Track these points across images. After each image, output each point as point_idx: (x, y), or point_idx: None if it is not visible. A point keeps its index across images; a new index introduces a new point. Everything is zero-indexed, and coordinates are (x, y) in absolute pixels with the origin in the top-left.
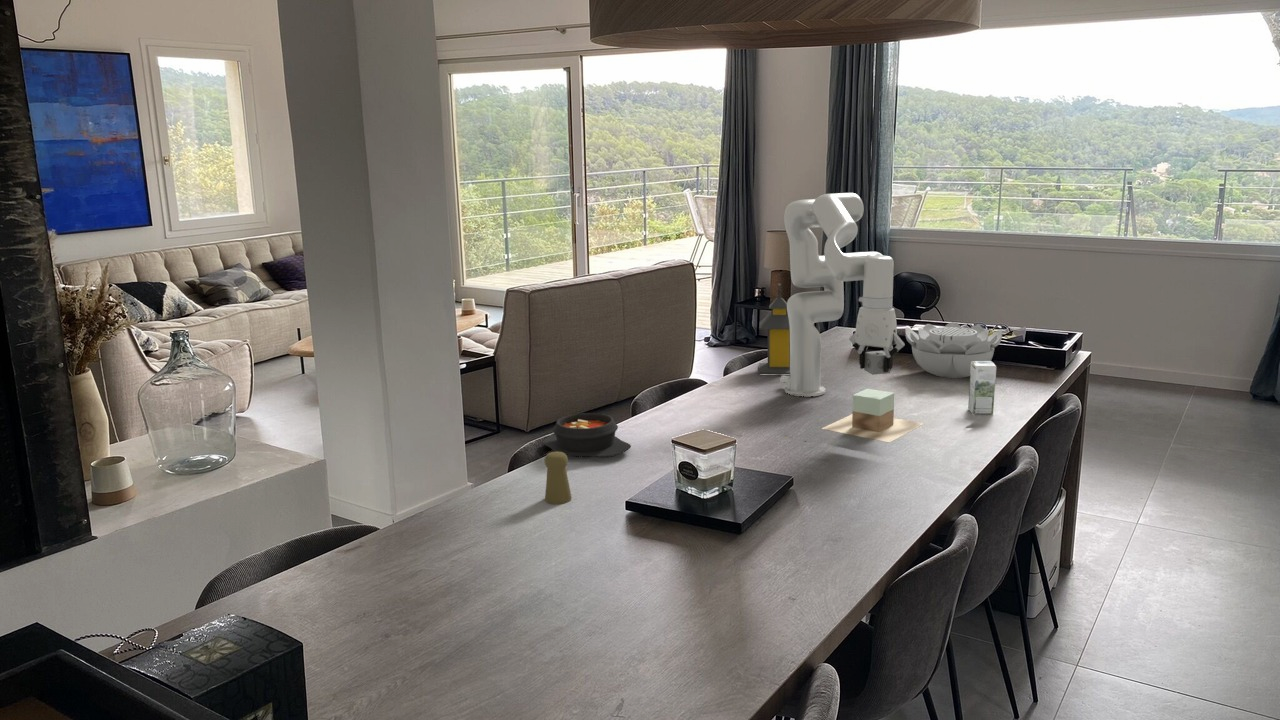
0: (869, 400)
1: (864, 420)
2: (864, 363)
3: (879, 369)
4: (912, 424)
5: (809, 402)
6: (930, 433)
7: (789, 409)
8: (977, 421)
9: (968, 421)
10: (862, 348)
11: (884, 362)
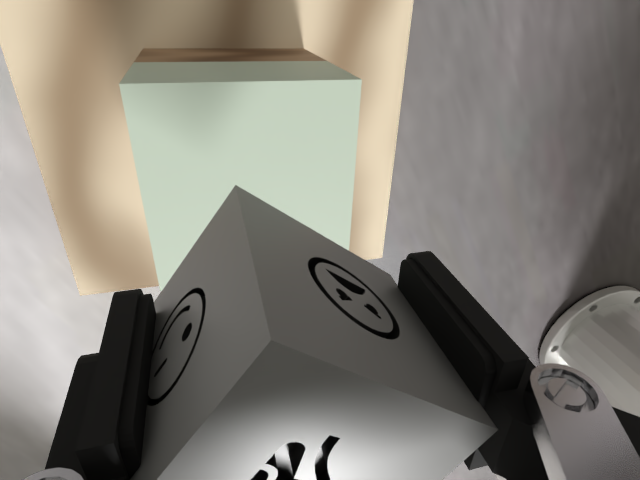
0: (218, 77)
1: (240, 55)
2: (419, 314)
3: (190, 281)
4: (107, 255)
5: (560, 269)
6: (16, 251)
7: (606, 167)
8: (7, 451)
9: (30, 434)
10: (572, 451)
11: (119, 375)
